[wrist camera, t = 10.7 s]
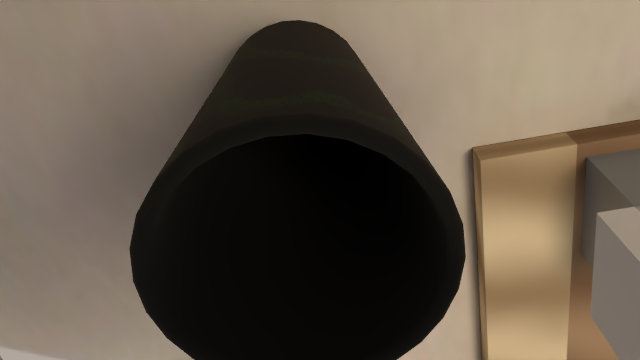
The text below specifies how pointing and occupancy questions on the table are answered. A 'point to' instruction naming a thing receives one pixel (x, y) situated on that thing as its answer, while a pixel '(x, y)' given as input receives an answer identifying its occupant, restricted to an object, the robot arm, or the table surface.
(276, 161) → the cup
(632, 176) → the grey block
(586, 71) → the table surface
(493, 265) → the panel
